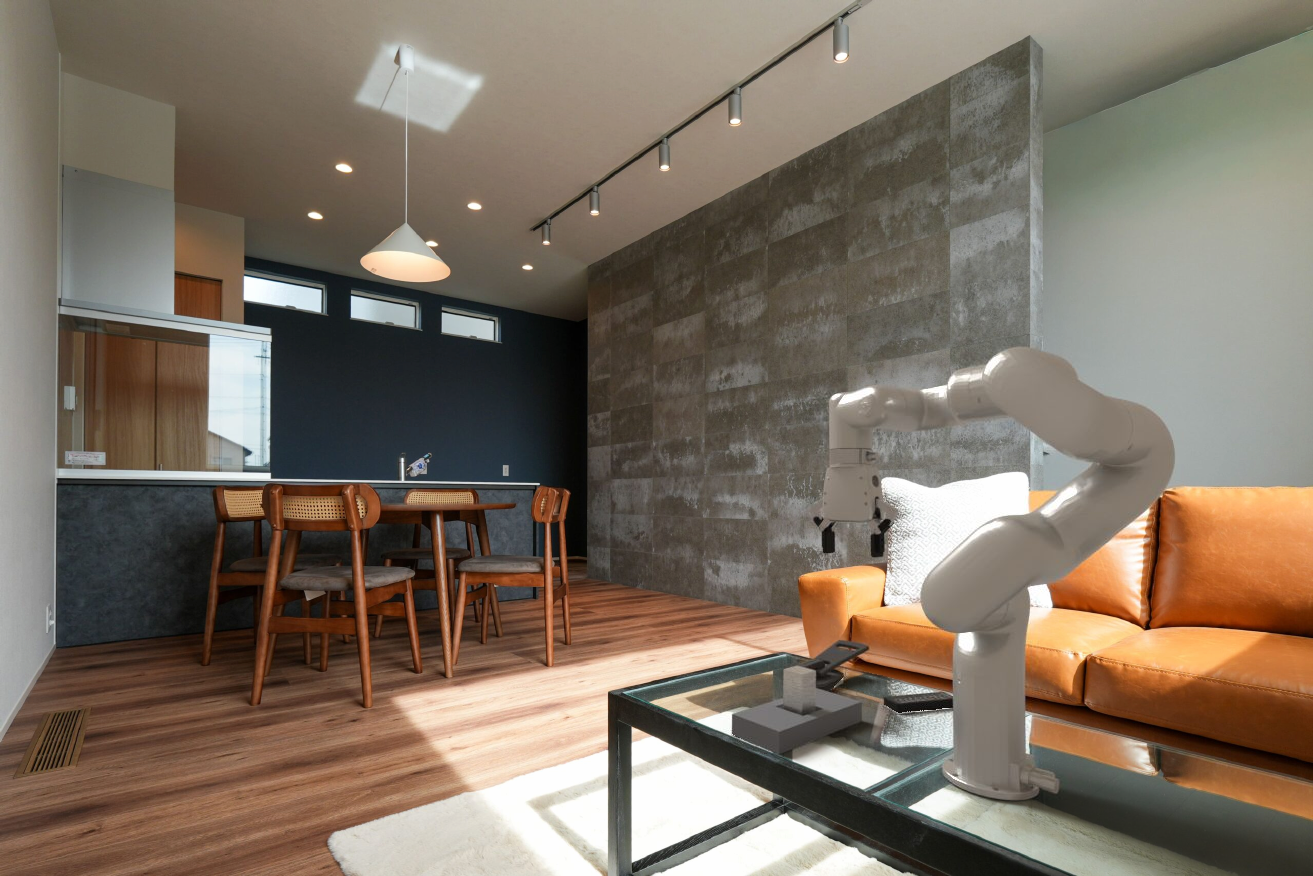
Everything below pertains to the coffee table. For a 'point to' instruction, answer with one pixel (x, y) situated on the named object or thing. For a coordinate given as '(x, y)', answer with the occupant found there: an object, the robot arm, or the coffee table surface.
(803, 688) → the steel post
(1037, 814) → the coffee table surface
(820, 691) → the grey block with hole
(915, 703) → the multiport hub
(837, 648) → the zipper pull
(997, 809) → the coffee table surface
